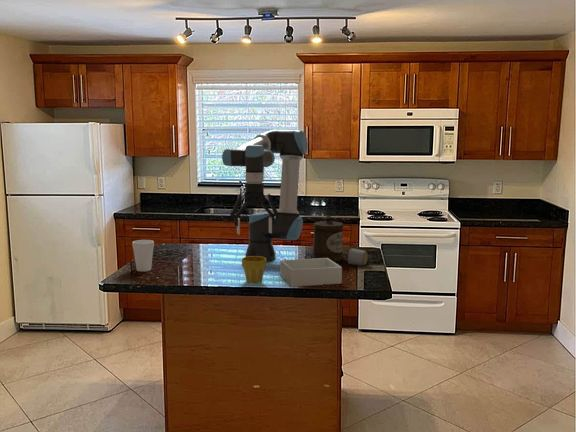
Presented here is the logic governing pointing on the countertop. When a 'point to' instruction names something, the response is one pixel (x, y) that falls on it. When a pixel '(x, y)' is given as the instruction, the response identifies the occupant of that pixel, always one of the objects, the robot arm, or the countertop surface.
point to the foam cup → (143, 254)
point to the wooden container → (328, 239)
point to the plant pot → (254, 268)
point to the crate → (310, 272)
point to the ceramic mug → (357, 257)
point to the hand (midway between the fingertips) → (254, 233)
